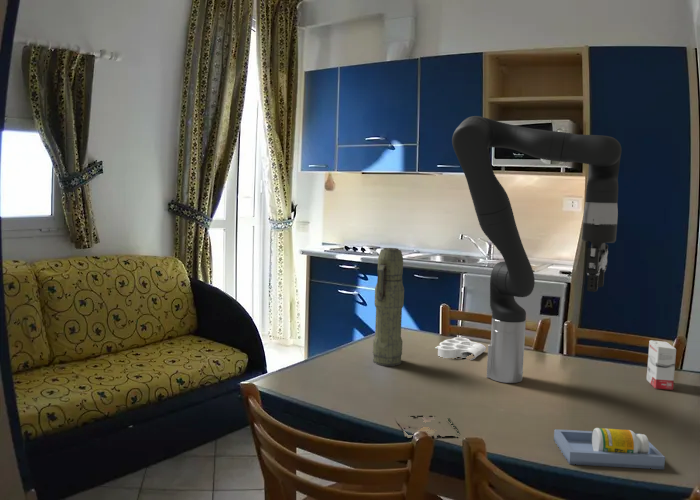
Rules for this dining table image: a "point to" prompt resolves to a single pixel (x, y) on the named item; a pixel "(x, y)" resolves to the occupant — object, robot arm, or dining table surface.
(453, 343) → the white holder with holes
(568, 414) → the dining table surface
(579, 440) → the tray
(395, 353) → the thermos
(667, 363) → the ink box
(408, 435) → the parchment
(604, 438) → the supplement bottle
